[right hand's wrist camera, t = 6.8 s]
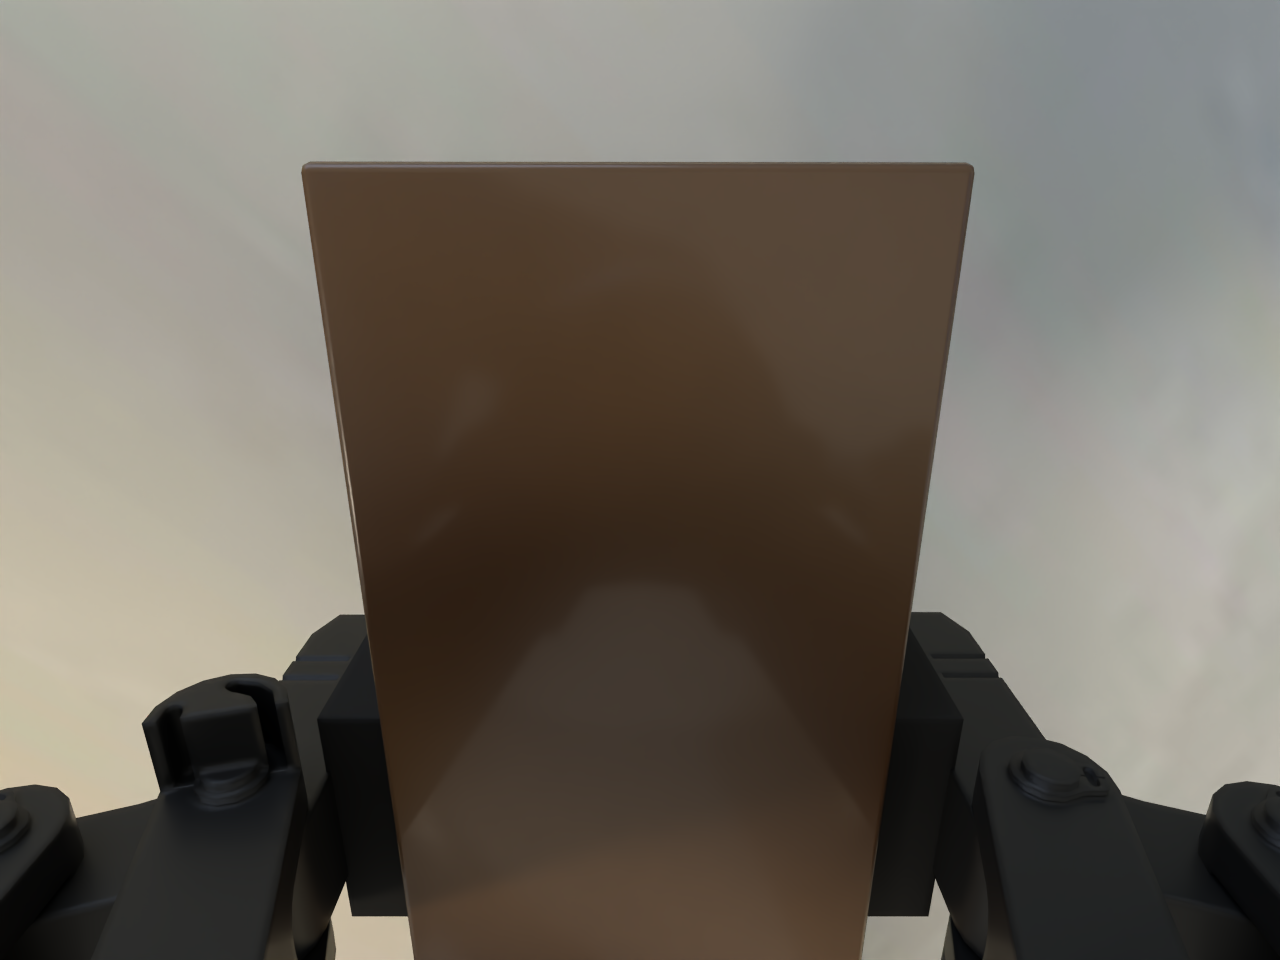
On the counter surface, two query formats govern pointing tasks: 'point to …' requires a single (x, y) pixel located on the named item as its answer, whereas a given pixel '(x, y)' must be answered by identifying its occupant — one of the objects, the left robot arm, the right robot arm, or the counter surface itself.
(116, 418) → the counter surface
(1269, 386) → the counter surface
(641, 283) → the bar
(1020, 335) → the counter surface
